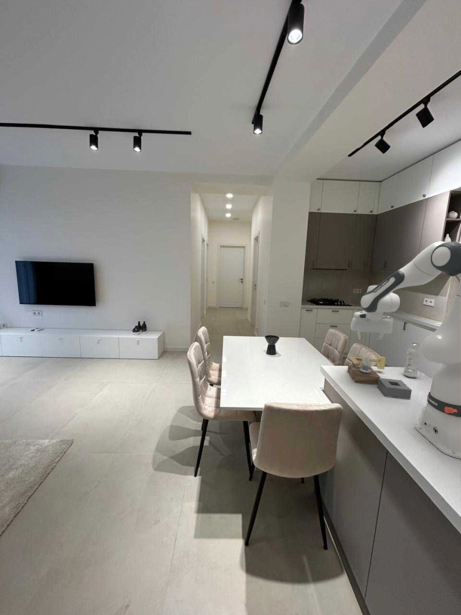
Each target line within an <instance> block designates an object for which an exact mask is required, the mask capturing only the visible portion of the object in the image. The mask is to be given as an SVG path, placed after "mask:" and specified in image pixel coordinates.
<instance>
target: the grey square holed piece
mask: <svg viewBox="0 0 461 615" xmlns="http://www.w3.org/2000/svg"><path fill="white" fill-rule="evenodd" d="M376 387H377V388H378V389H379V391H380V392H381V393H382V395H384V397H388V398H395V399H396V398H397V399H403V400H404V399H405V400H411V399H412V398H411V397H412V390H413V389H411V388H410V387H409V386H408V385H407V384H406V383H404V381H402V379H393V378H392V379H391V378H383V377H380V378H378V383H377V385H376Z"/></svg>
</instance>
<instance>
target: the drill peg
mask: <svg viewBox="0 0 461 615" xmlns="http://www.w3.org/2000/svg"><path fill="white" fill-rule="evenodd" d="M363 358H364V359H363V362H362V365H363V367H362V368H360V371H361V372H362V373H367V374H369V373H370V372H371V370H370V369H369V364H370V365H371V361H370V359H371V358H370V359H367V358H368V357H363Z"/></svg>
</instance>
